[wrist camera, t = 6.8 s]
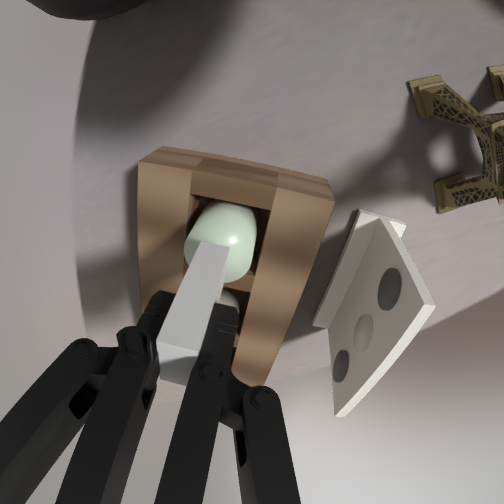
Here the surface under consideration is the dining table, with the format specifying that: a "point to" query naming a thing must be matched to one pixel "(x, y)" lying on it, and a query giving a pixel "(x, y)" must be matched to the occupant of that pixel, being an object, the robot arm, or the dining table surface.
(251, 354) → the brown wooden tray
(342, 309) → the pattern card
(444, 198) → the eiffel tower
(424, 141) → the dining table surface
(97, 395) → the robot arm
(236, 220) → the pale green rounded piece
